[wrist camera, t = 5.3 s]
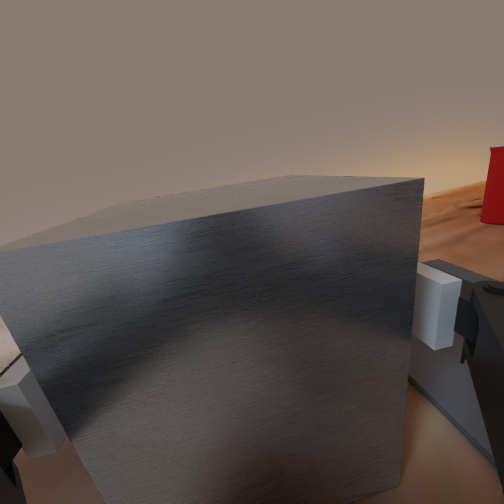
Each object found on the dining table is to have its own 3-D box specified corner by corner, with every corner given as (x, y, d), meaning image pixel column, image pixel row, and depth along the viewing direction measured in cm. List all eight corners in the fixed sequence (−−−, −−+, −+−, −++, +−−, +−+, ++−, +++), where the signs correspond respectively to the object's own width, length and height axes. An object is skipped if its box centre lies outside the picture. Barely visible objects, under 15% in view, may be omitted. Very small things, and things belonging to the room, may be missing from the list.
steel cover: (144, 574, 9) (-32, 257, 5) (175, 366, 18) (124, 201, 14) (399, 485, 10) (424, 177, 6) (304, 334, 19) (290, 175, 15)
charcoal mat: (544, 516, 9) (547, 510, 8) (319, 289, 25) (318, 286, 25) (817, 407, 10) (823, 399, 10) (438, 262, 27) (438, 259, 27)
